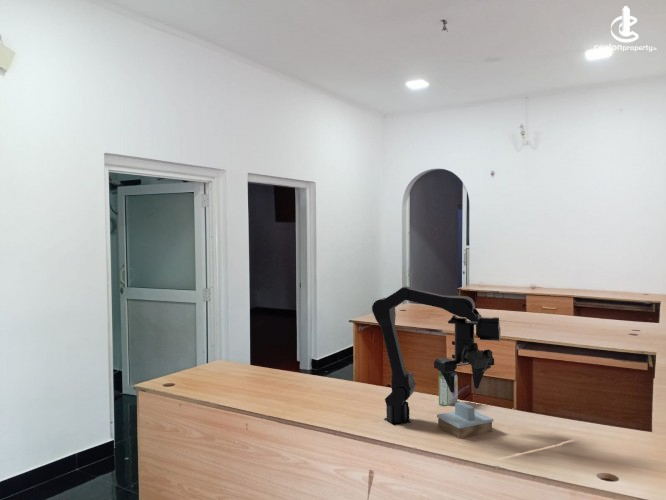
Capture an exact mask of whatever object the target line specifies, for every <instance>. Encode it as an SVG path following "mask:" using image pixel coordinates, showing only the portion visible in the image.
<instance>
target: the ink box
mask: <svg viewBox="0 0 666 500" xmlns="http://www.w3.org/2000/svg"><path fill="white" fill-rule="evenodd" d="M458 389H459V387H458V374H456V375H455V379H454V393H452V392H450V389H449V387H448V385H447V383H446V380H445V378H444V377H443V375H442V373H441V371H438V405H440V406H442V407H443V406H444V407H449V406H453V405H455V403H458V402H459V401H457V400H458V397H459V395H458V392H459V391H458Z"/></svg>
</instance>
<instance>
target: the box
mask: <svg viewBox="0 0 666 500" xmlns="http://www.w3.org/2000/svg"><path fill="white" fill-rule="evenodd" d="M437 419H438V420H437V421H438V423H437V424H438V426H437V427H438V428H439V429H441V430H443V431H444V432H447V433H448V434H450V435H452V436H454V437H456V438H458V439H464V438H469V437H474V436H478V435H482V434H488V433H491V432H493V422H489V423H484V424H479V425H474V426H469V427H464V428H457V427H455V426H453V425H451V424H449V423H447V422H445V421H443V420H441V419H439V418H437Z"/></svg>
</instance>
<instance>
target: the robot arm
mask: <svg viewBox="0 0 666 500" xmlns="http://www.w3.org/2000/svg"><path fill="white" fill-rule="evenodd" d="M405 301H409V302H413V303H418V304H421V305H426V306H430V307H434V308H437V309H442V310H445V311H446V312H448V313H450V314H452V317H451V318H450V319H449V320H448V321H447V323H448V325H449V324H450V325H451V324H452V325H454V340H452V341H451V345H452V346H454V354H451V358H452V359H451V358H448V357H439V358H436V359H435V360H434V361H433V368H434V369H437V371H438V372H439V371H441V373H442V375H443V377H444V378H445V380H446V383H447V385H448V387H449V389H450V392H452V393H454V379H455V375H457V373H458V371H457V370H456V369H457V367H461V366H467V365H468V366H469V365H470V366H471V371H472V372H471V373H472V378H473V380H472V381H473V386H474V389H477V390H478V389H479V387H480V384H481V382H482V380H483V376H484V374H485V372H486V371H488V370H489V369H491V368H492V366H495V358H494V355H493V351H492V350H491V349H484V350H481V349H479V345H478V343H477V342H475V337H477V338H479V341H480V340H481V341H493V342H494V341H495V342H500V341H501V330H502V329H501V325H500V324H501V323H500V317H499V316H498V317H496V316H495V317H483V316H482V315H481V313H480V312H479V311H478V309H476V302H475V301H474V299H473V298H471V297H469V296H468V295H467V296H466V295H443V294H438V293H434V292H431V291H425V290H421V289H416V288H412V287H410V286H402V287H400V288H399V289H398V290H397V291H395V292H393V293H391V294H390V295H389V296H387V297H383V298H380V299H377V300H375V301H374V302H373V303H372V305H371V311H372V315H373V316H374V318H375V321H376V322H377V324H378V325H379V327H380V329H381V332H382V335H383V341H384V344H385V349H386V352H387V356H388V361H389V364H390V365H389V366H390V370H391V380H390V381H391V382H390V384H391V385H390V386H391V392H390V393H389V394H388V395H387V396H386V397H385V398H384V402H385V405H386V407H385V410H386V417H385V418H383V420H384V421H385V422H388V423H389V424H391V425H393V426H399V425H405V424H410V423H412V421H411V420H410V406H409V401H408V400H409V398H410V397H411V396H412V394H413V393H414V392H415V390H416V389H415V388H416V387H415V386H416V385H417V383H416V381H415V377H414V372H413V371H412V372H409V371H408V370H407V367H406V364H405V362H404V357H403V352H402V349H401V344H400V340H399V336H398V332H397V328H396V315H397V314H396V307H398V306H399V305H401V304H402V303H404V302H405Z"/></svg>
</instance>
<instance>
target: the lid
mask: <svg viewBox="0 0 666 500" xmlns="http://www.w3.org/2000/svg"><path fill="white" fill-rule="evenodd" d="M436 418H437V419H438V418H439V419H441V420H443V421H445V422H447V423H449V424H451V425H453V426H455V427H457V428H464V427H469V426H474V425H479V424H484V423H489V422H492V423H493V422H494V418H492V417H490V416H487V415H486V414H482V413H480V412H478V411H476V409H475V407H474V406H472V405H470V404H467V403H464V402H462V401H460V402H459V401H458V402H456V403H454V411H450V412H443V413H438V414H437V415H436Z"/></svg>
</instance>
